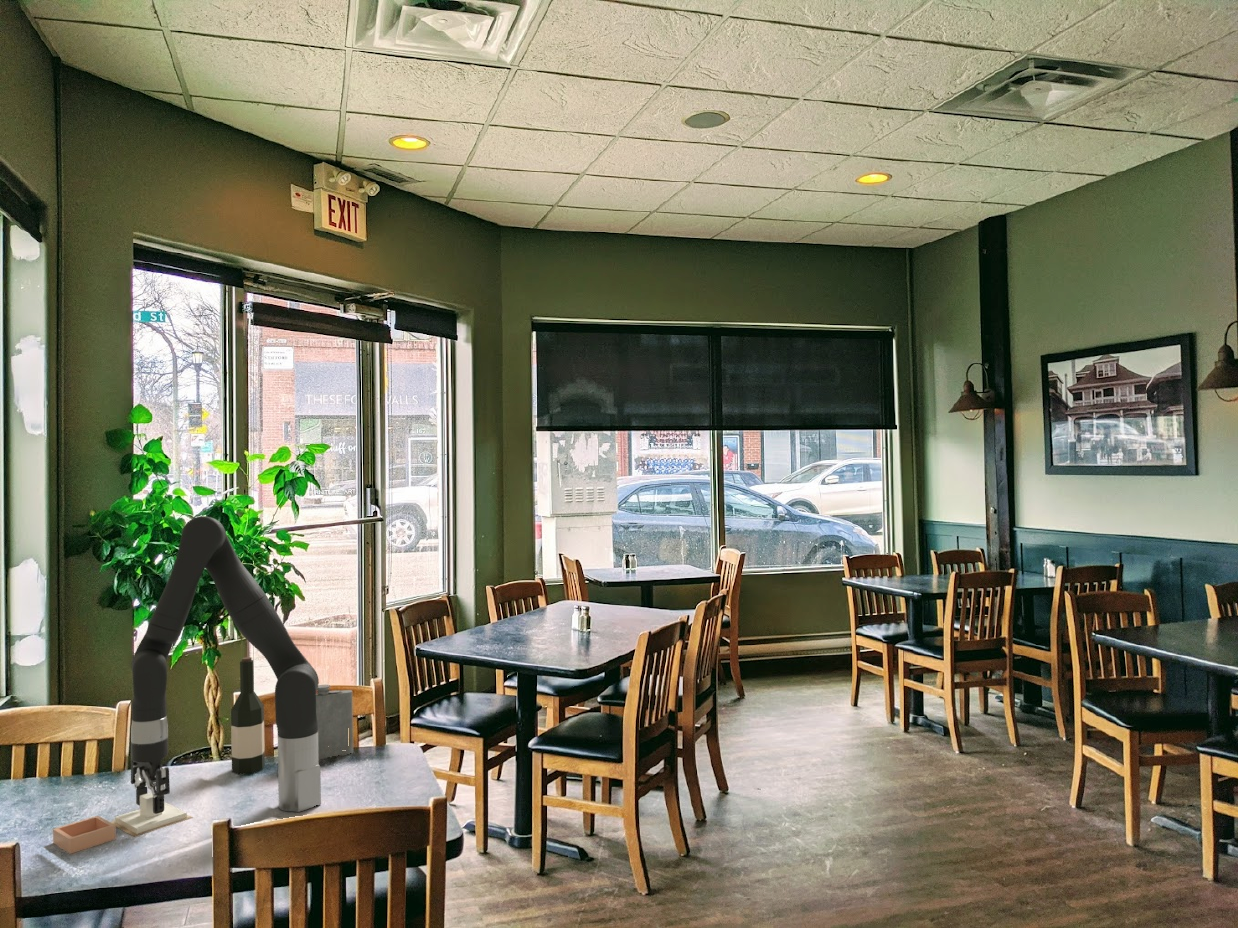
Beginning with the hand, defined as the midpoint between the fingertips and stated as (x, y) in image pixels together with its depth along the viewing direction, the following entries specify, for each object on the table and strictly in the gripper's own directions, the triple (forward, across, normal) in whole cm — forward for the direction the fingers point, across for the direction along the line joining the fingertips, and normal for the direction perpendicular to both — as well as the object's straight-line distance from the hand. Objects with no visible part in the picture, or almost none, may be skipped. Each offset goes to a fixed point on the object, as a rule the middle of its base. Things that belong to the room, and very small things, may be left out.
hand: (150, 808), depth 204 cm
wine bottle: (+4, +17, -33) cm, 37 cm away
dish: (+4, 0, +14) cm, 14 cm away
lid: (+3, 0, 0) cm, 3 cm away
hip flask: (+4, +9, -51) cm, 52 cm away
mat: (+4, 0, 0) cm, 4 cm away
